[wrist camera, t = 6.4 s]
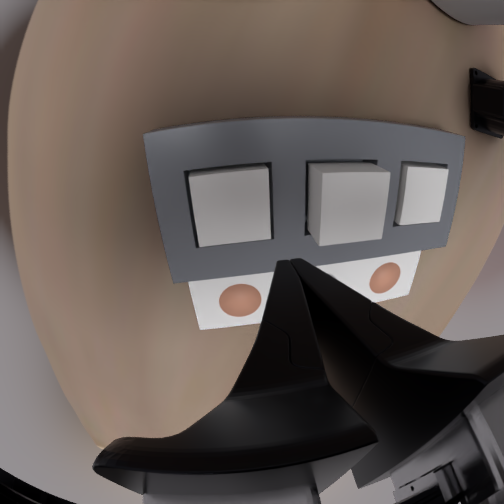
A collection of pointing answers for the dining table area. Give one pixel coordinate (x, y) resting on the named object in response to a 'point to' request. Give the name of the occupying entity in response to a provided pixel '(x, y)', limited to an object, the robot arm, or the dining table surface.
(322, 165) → the button middle
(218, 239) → the button
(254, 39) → the dining table surface
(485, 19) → the cylinder vase
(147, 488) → the robot arm
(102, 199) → the dining table surface
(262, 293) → the pattern card
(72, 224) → the dining table surface
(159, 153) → the button board
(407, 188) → the button
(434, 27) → the dining table surface
